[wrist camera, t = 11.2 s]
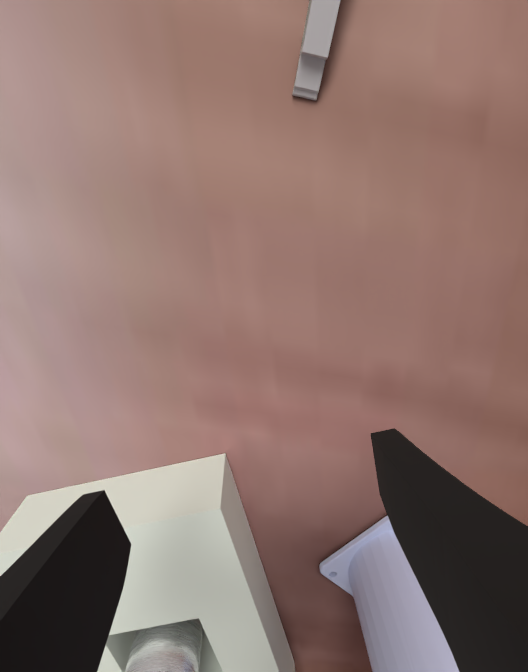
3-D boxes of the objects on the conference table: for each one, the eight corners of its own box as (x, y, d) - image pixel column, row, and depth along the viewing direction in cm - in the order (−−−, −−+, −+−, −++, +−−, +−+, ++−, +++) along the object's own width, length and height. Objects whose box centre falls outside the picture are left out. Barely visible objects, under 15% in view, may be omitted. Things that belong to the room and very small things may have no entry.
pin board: (294, 661, 29) (300, 732, 25) (143, 689, 29) (127, 762, 26) (225, 453, 22) (220, 508, 18) (27, 495, 22) (-18, 557, 18)
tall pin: (220, 587, 26) (207, 750, 18) (180, 615, 26) (152, 782, 19) (174, 557, 24) (141, 719, 17) (135, 588, 25) (87, 755, 18)
